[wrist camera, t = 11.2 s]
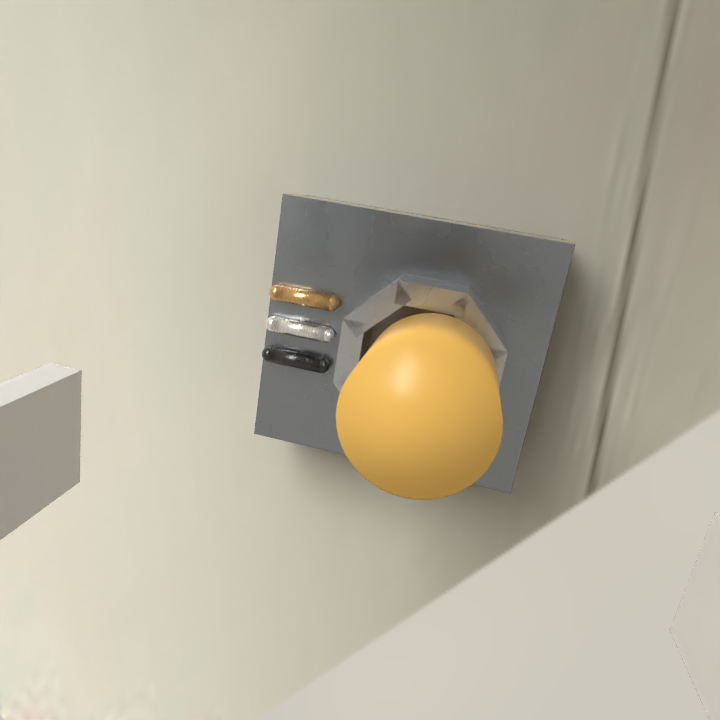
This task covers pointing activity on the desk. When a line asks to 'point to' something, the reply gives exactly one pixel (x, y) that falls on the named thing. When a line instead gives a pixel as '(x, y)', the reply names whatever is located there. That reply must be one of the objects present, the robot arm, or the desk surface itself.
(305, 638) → the desk surface
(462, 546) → the desk surface
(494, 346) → the box
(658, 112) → the desk surface
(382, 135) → the desk surface
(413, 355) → the yellow capsule
